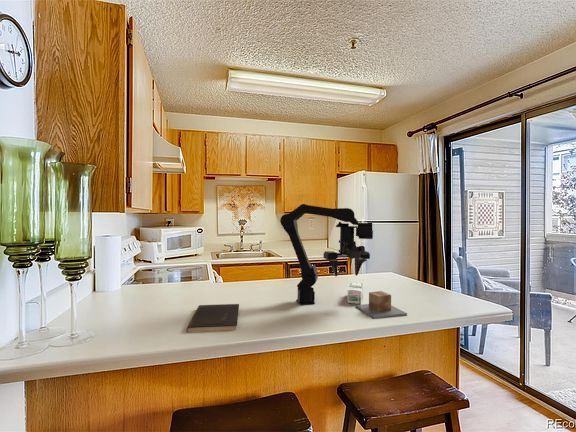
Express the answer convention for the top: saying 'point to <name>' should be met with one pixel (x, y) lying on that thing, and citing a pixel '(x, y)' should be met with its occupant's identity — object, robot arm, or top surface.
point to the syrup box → (355, 293)
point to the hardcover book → (214, 318)
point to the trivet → (382, 314)
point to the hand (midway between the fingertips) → (346, 275)
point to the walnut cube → (380, 301)
